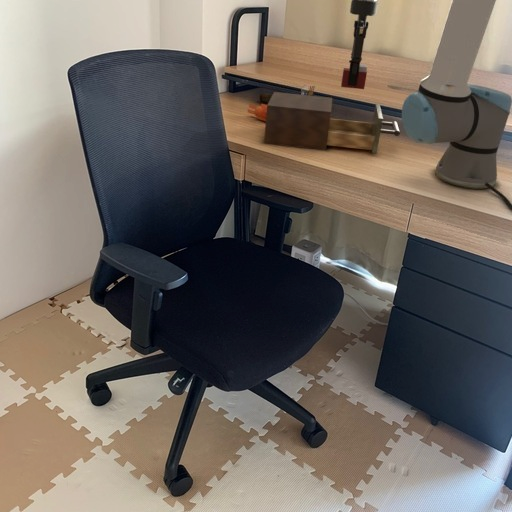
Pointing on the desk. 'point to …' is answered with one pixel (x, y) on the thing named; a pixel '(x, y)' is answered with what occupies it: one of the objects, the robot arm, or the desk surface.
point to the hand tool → (265, 97)
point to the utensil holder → (309, 90)
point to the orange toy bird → (259, 111)
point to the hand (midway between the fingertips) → (351, 83)
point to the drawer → (359, 132)
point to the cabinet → (298, 120)
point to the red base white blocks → (360, 79)
